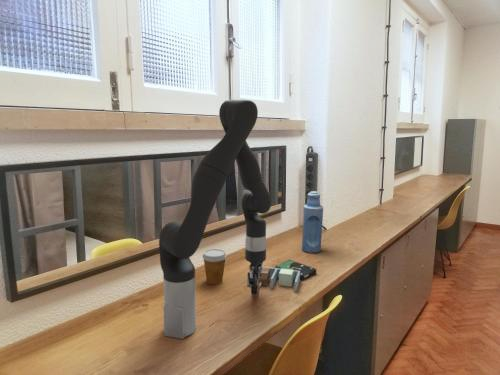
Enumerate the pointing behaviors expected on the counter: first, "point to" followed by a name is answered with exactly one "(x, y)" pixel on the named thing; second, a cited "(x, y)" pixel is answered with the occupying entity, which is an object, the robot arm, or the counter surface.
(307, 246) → the bottle
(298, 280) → the lane rack
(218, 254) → the disposable coffee cup
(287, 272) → the block
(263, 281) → the block with brown handle
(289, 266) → the disk drive
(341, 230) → the counter surface
